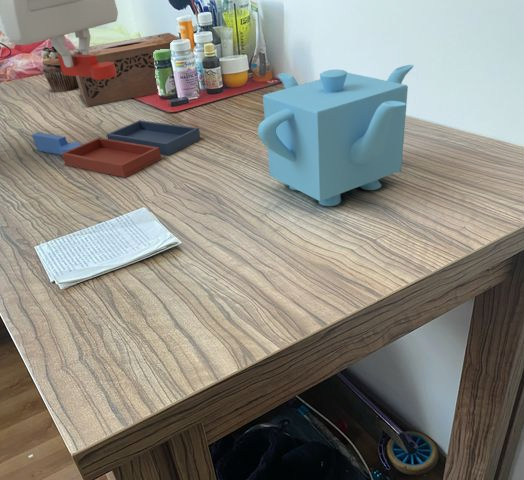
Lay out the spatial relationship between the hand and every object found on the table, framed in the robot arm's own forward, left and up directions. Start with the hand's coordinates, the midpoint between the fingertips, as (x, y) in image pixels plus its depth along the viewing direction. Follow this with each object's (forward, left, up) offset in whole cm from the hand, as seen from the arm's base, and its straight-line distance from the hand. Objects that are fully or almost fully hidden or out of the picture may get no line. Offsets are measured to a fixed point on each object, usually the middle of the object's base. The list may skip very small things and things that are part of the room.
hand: (78, 64), depth 87 cm
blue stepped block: (-7, -5, -14) cm, 17 cm away
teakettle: (+49, +2, -14) cm, 51 cm away
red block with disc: (+2, 0, -2) cm, 2 cm away
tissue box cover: (-27, +34, -14) cm, 46 cm away
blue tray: (+7, +6, -14) cm, 17 cm away
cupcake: (-51, +31, -14) cm, 62 cm away
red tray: (+7, -4, -14) cm, 17 cm away
